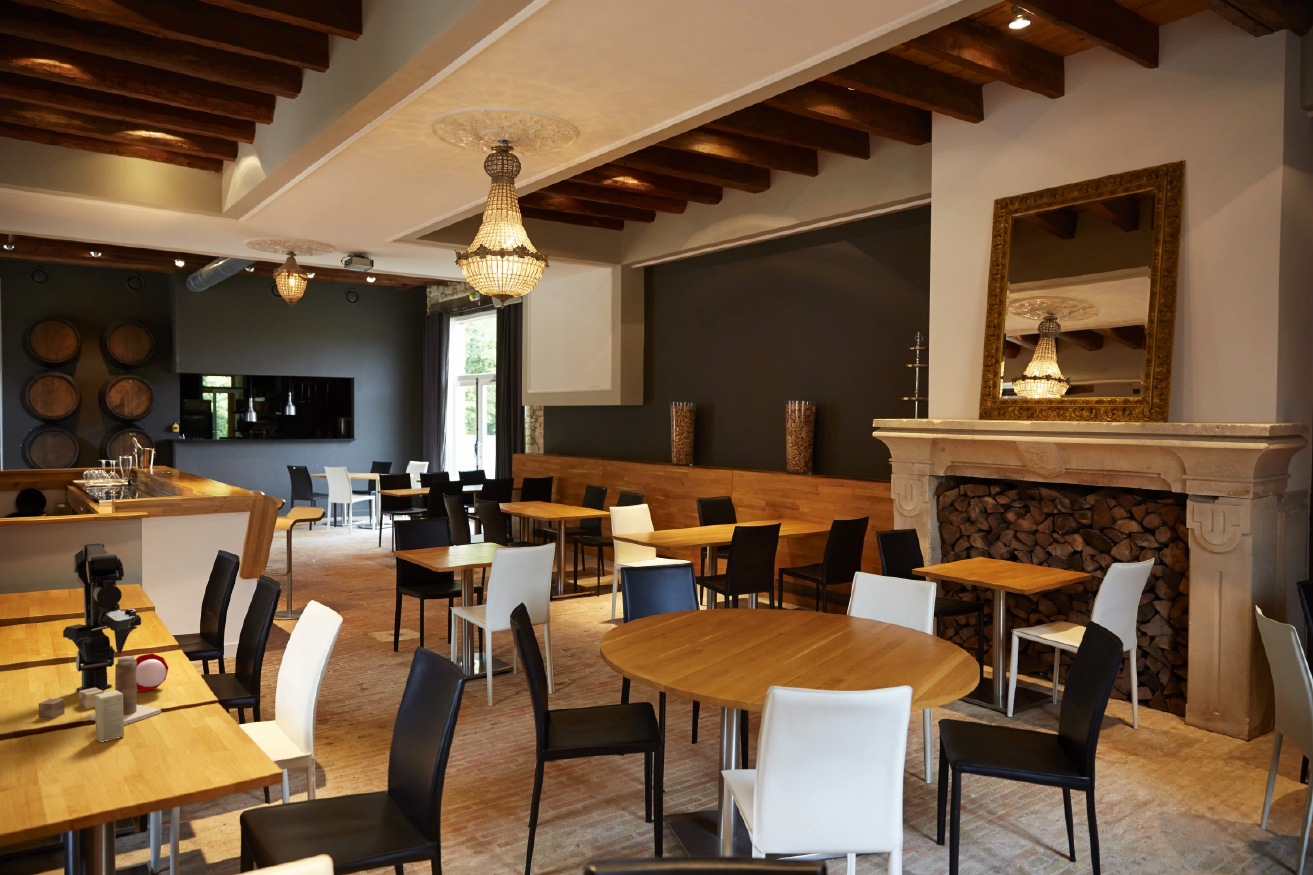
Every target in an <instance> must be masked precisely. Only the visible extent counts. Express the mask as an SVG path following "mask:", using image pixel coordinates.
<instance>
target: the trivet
mask: <svg viewBox="0 0 1313 875" xmlns="http://www.w3.org/2000/svg"><path fill="white" fill-rule="evenodd" d="M161 713H162V709H161V708H156V707H151V706H145V705H139V704H136V712H135V713H133V714H129V715H124V726H127V725H129V724H128V723H130V724H132V723H135V722H138V721H141V720H144V719H147V718H150V717H153V716H157V715H159V714H161ZM89 720H90V721H95V713H94V714H92V715H90V716H89ZM126 724H127V725H126Z"/></svg>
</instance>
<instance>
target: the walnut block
mask: <svg viewBox="0 0 1313 875" xmlns="http://www.w3.org/2000/svg"><path fill="white" fill-rule="evenodd" d="M64 714H65V698H47V699H46V700H43V701H41V702H39V703H38V719H39V718H47V719H48V718H49V719H51V720H54V719H56V718H58V717H60V716H63V715H64ZM57 716H58V717H57ZM47 719H46V720H47ZM49 719H48V720H49Z"/></svg>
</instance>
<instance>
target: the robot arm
mask: <svg viewBox="0 0 1313 875" xmlns="http://www.w3.org/2000/svg"><path fill="white" fill-rule="evenodd" d="M72 570H73V573H75V578H76V581H77V582H78V583H79V584H80V585H81V587H82V593H83V595H82V596H83V609H84V624H79V623H77V624H73V625H68V626H65V628H64V629H63V631H62V637H63V638H65V639H68V640H69V641H72V642H73V644H74V645H75V646H76V648H77V649H78V650H77V654H76V659H75V665H76V666H75V668H76V670H77V672H81V686H79V687H76V689H75V690H76V691H82V690H86V689H91V688H98V689H100V690H102V691H103V690H104V689H108V688H112V687H113V684H110V683H108V667H109V668H112V667H113V666H114V665H115V655H116V652H117V653H118V654H121V653H122V651H123V650H124V646H125V644H126V641H127V640H128V637H129V635H130V634H131V632H132V631H134V630H136V629H137V628H138V627H139V626H141V625H142V617H141V616H140V614H137V610H136V609H135V608H129V609H126V610H121V609H120V608H121V607H120V603H119V602H120V601H121V599H122V597H123V596H122V595H123V594H122V590H121V589H120V588H119V587H118V586H117V582H119V581H123V578H124V577H125V576H124V575H125V572H124V564H123V561H121V558H120V557H119V558H118V555H117V554H115V553H108V551H107V550H106V548H105V544H104V543H101V542H99V543H86V544H84V545H83V546H82V548H81V550H79V551H78V552H77V553H75V554H74V557H73V562H72ZM105 629H110V630H111V631H113V632H114V640H115V648H116V650H115V649H114V647H113V645H111V639H110V637H109V636H108V635H107V634H105V632H104V631H103V630H105Z"/></svg>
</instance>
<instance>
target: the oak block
mask: <svg viewBox="0 0 1313 875" xmlns="http://www.w3.org/2000/svg"><path fill="white" fill-rule="evenodd" d="M78 691H79V690H78ZM102 693H104V690H103V689H102V690H100V689H98V688H91V689H86V690H82V691H79V693H78V694H79V695H78V697H79V698H78V699H79V700H78V702H79V704H78V705H79V706H80V707H82V706H83V708H85V709H92V707H93V708H95V695H98V694H102Z"/></svg>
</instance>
